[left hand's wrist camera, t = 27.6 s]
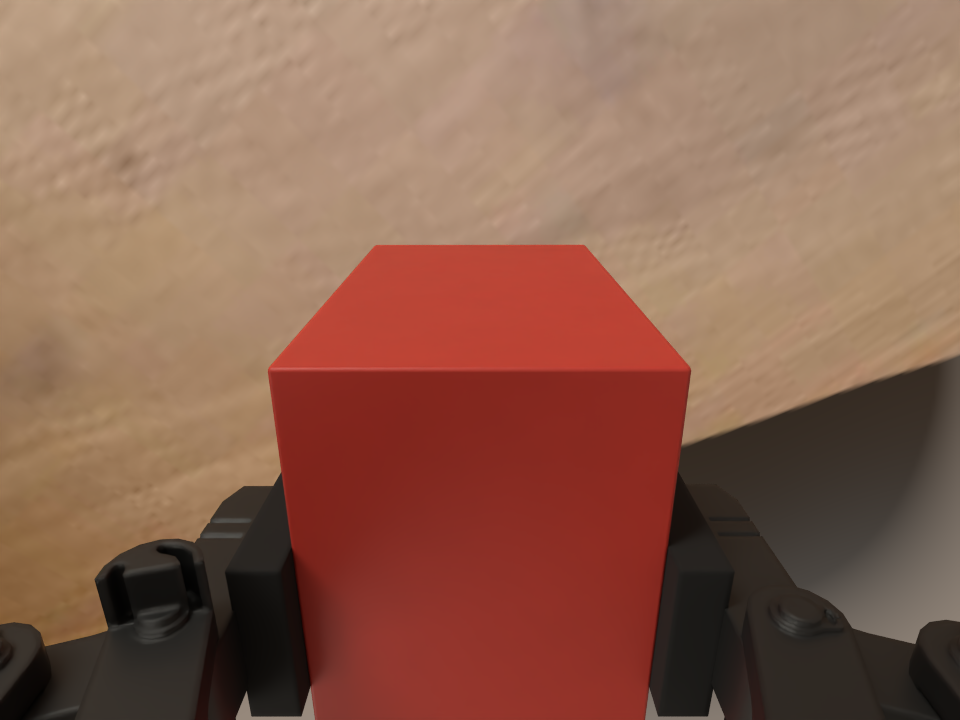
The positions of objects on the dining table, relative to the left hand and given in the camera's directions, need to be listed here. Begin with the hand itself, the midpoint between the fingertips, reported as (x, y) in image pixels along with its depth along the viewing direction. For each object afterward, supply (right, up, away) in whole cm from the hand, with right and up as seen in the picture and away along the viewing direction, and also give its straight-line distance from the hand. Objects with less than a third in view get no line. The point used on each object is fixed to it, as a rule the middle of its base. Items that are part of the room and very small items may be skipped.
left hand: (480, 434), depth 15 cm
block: (0, +1, +2) cm, 3 cm away
